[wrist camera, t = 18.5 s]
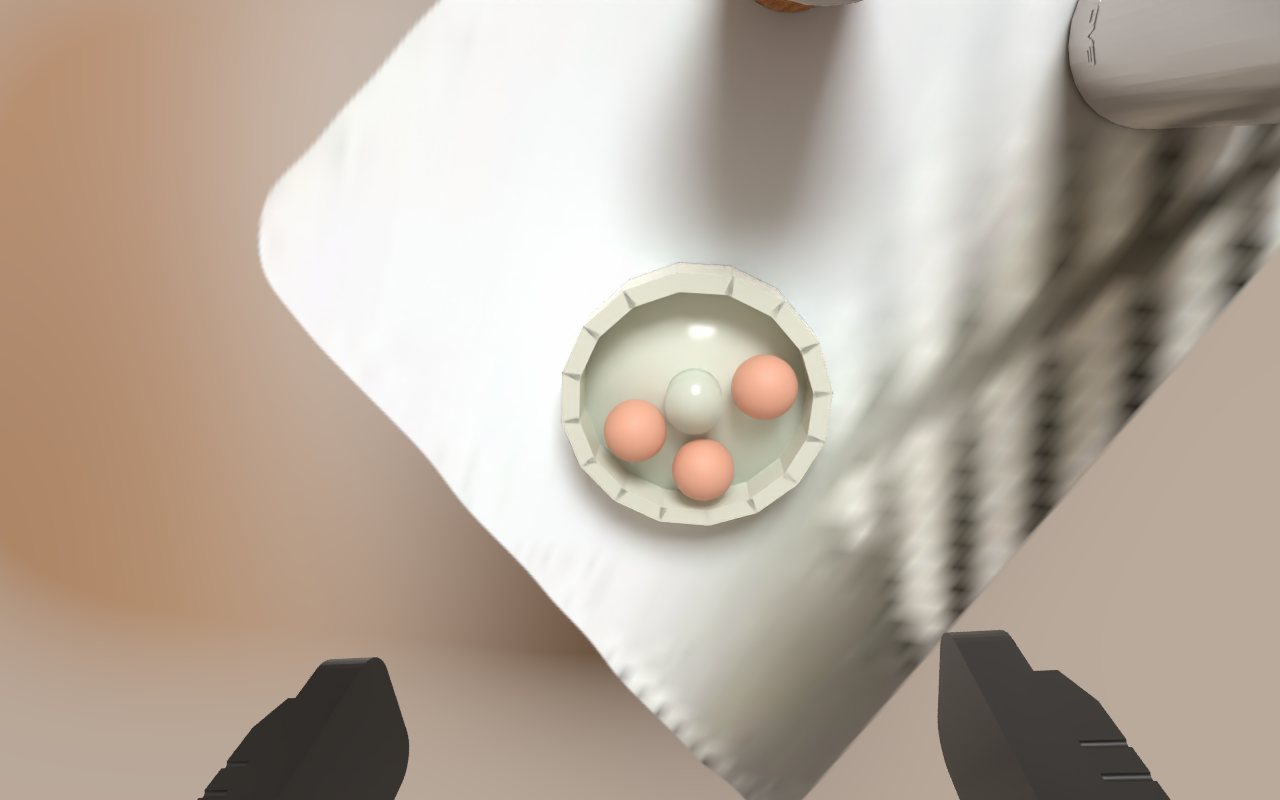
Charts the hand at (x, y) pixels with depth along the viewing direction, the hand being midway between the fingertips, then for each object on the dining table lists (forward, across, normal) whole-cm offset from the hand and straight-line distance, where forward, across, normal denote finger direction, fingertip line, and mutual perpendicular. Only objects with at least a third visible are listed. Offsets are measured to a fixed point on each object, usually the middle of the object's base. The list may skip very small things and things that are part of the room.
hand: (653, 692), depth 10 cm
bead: (+29, +4, +7) cm, 30 cm away
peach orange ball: (+29, 0, +10) cm, 31 cm away
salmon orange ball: (+29, -4, +5) cm, 30 cm away
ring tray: (+30, 0, +6) cm, 31 cm away
